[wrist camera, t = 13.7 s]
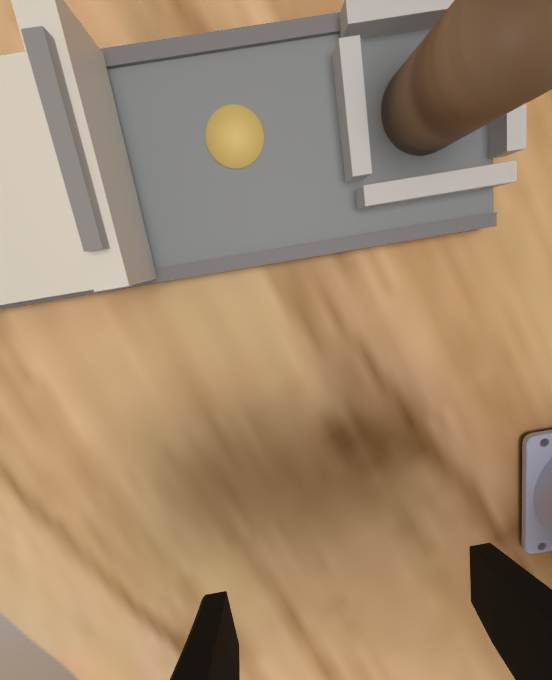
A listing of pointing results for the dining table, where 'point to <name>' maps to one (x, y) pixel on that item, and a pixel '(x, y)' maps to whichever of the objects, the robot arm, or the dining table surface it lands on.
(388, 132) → the peg
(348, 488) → the dining table surface
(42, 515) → the dining table surface
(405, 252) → the dining table surface
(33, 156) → the cover
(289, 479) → the dining table surface
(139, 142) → the board
